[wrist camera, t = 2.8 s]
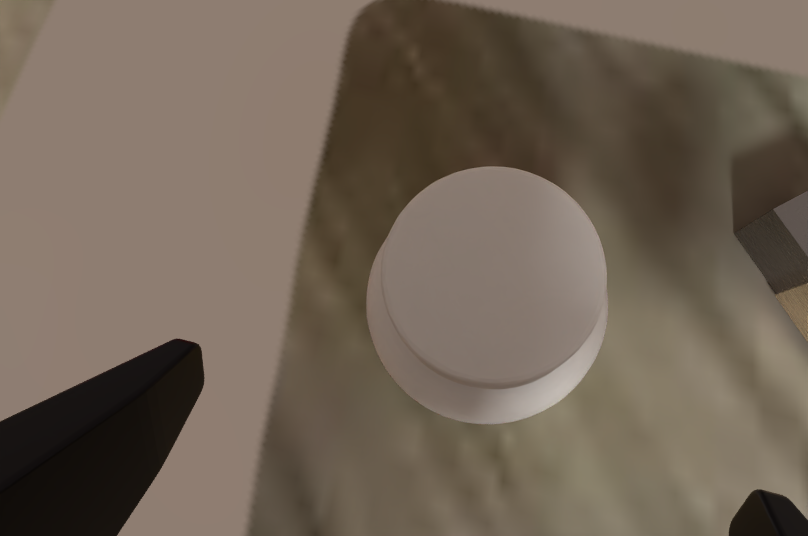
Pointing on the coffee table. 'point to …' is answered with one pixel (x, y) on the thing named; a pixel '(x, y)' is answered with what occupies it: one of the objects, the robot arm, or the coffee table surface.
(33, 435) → the robot arm
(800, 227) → the price rail
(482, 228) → the supplement bottle
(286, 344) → the coffee table surface
